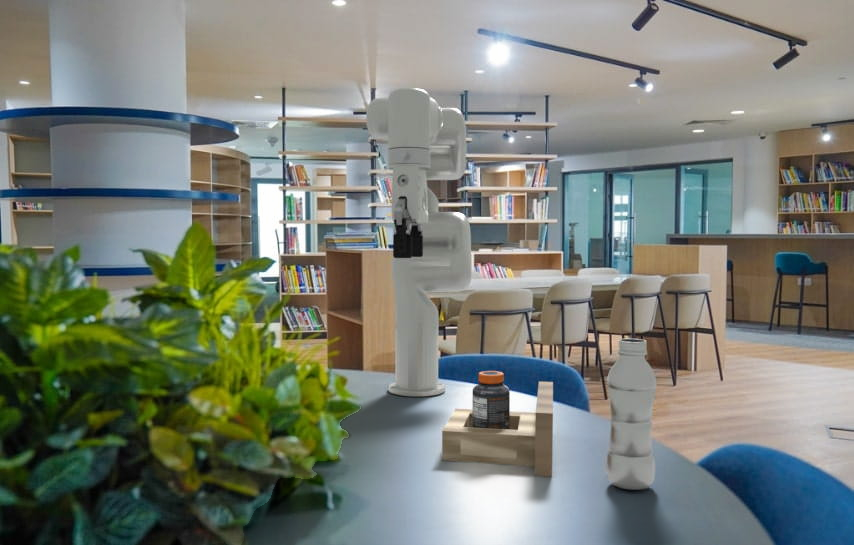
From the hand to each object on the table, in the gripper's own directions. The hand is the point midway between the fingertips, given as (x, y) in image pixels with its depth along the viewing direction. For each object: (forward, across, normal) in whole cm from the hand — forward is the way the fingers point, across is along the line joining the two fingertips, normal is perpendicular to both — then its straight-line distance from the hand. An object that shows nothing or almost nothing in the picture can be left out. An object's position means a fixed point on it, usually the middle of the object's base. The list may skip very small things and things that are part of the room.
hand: (408, 257), depth 121 cm
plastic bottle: (+31, -24, -36) cm, 53 cm away
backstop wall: (+30, -11, -24) cm, 40 cm away
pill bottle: (+30, -11, -16) cm, 35 cm away
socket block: (+30, -11, -16) cm, 36 cm away
